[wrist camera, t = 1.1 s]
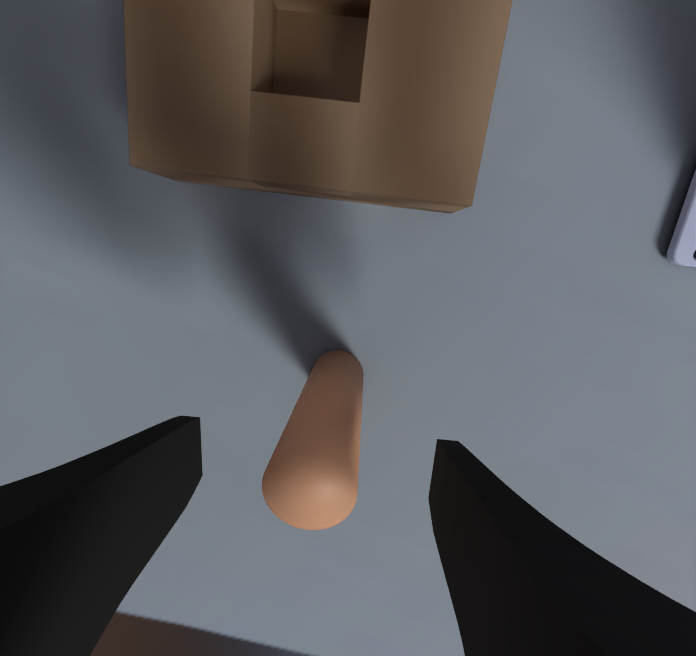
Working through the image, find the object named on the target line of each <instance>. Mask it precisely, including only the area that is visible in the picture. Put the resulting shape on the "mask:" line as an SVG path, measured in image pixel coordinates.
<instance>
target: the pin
mask: <svg viewBox="0 0 696 656" xmlns="http://www.w3.org/2000/svg"><path fill="white" fill-rule="evenodd" d="M362 391H363V369H362V366H361V364H360V362H359V361H358V360H357V359H356V357H354V356H353V355H352V354H350V353H348V352H345V351H341V350H333V351H329V352H326V353H324V354H323V355H321V356H320V357H319V358H318V359H317V361H316V362H315V364H314V366H313V368H312V371H311V373H310V375H309V377H308V379H307V381H306V384H305V386H304V388H303V390H302V392H301V394H300V397H299V399H298V401H297V403H296V405H295V407H294V410H293V412H292V414H291V416H290V418H289V420H288V423H287V425H286V427H285V429H284V431H283V433H282V436H281V438H280V440H279V442H278V444H277V446H276V448H275V451H274V453H273V455H272V457H271V459H270V461H269V464H268V466H267V468H266V470H265V472H264V475H263V479H262V491H263V496H264V499H265V501H266V503H267V505H268V507H269V508H270V509H271V511H272V512H273V513H274V514H275V515H276V516H277V517H278V518H280V519H281V520H282V521H284V522H286V523H287V524H290V525H292V526H294V527H297V528H301V529H307V530H320V529H325V528H329V527H332V526H334V525H336V524H338V523H340V522H341V521H343V520H344V519H345V518H346V517H347V516H348V515H349V514H350V513H351V511H352V510H353V508H354V506H355V503H356V499H357V490H358V470H359V451H360V431H361V411H362Z"/></svg>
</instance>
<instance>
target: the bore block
mask: <svg viewBox="0 0 696 656" xmlns="http://www.w3.org/2000/svg"><path fill="white" fill-rule="evenodd" d="M123 3H124V29H125V55H126V81H127V106H128V132H129V158H130V166H133V167H136V168H139V169H142V170H145V171H148V172H152V173H155V174H158V175H161V176H164V177H167V178H170V179H173V180H176V181H182V182H191V183H199V184H208V185H216V186H224V187H233V188H241V189H250V190H258V191H267V192H275V193H284V194H292V195H301V196H309V197H317V198H326V199H334V200H343V201H351V202H360V203H368V204H377V205H385V206H393V207H402V208H410V209H419V210H427V211H436V212H444V213H453V212H456V211H459V210H461V209H464V208H467V207H469V206H472V202H473V197H474V192H475V187H476V182H477V177H478V172H479V167H480V161H481V156H482V151H483V146H484V141H485V136H486V131H487V126H488V121H489V116H490V111H491V106H492V101H493V96H494V91H495V86H496V81H497V76H498V71H499V65H500V60H501V55H502V50H503V45H504V40H505V35H506V30H507V25H508V20H509V15H510V10H511V5H512V0H123Z"/></svg>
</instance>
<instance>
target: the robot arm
mask: <svg viewBox="0 0 696 656" xmlns="http://www.w3.org/2000/svg"><path fill="white" fill-rule="evenodd" d="M695 250H696V170H695V173H694V176H693V178H692V181H691V184H690V187H689V190H688V193H687V196H686V199H685V202H684V205H683V207H682V210H681V213H680V216H679V219H678V222H677V225H676V228H675V231H674V234H673V236H672V239H671V242H670V245H669V248H668V251H667V258H668V261H669V262H670V263H672V264H675V265H682V266H690V267H696V258H695V259H694V258H693V253H694V252H695ZM201 477H202V454H201V430H200V417H190V416H178V417H175V418H172V419H169V420H167V421H164V422H162V423H160V424H157V425H155V426H153V427H150V428H148V429H146V430H144V431H141V432H139V433H137V434H134V435H132V436H130V437H128V438H125V439H123V440H121V441H119V442H116V443H114V444H112V445H110V446H107V447H105V448H102V449H100V450H97V451H95V452H93V453H90V454H88V455H85V456H83V457H80V458H78V459H75V460H73V461H71V462H68V463H66V464H63V465H60V466H58V467H55V468H52V469H50V470H47V471H44V472H41V473H39V474H36V475H33V476H30V477H27V478H24V479H21V480H18V481H15V482H12V483H9V484H6V485H3V486H0V656H90V655H91V653H92V651H93V649H94V648H95V646H96V644H97V642H98V641H99V639H100V637H101V636H102V634H103V632H104V630H105V628H106V627H107V625H108V623H109V622H110V620H111V618H112V617H113V615H114V613H115V611H116V610H117V608H118V606H119V605H120V603H121V601H122V600H123V598H124V597H125V595H126V594H127V592H128V591H129V589H130V588H131V586H132V584H133V583H134V582H135V580H136V579H137V577H138V576H139V574H140V573H141V572H142V570H143V569H144V567H145V566H146V564H147V563H148V562H149V560H150V559H151V557H152V556H153V554H154V553H155V551H156V550H157V549H158V547H159V546H160V544H161V543H162V541H163V540H164V539H165V537H166V536H167V534H168V533H169V531H170V530H171V528H172V527H173V526H174V524H175V523H176V521H177V520H178V518H179V517H180V515H181V514H182V512H183V511H184V509H185V508H186V506H187V504H188V502H189V501H190V499H191V497H192V495H193V493H194V491H195V489H196V487H197V485H198V483H199V481H200V479H201ZM429 505H430V512H431V519H432V525H433V532H434V536H435V540H436V544H437V548H438V551H439V555H440V559H441V563H442V566H443V570H444V574H445V577H446V581H447V585H448V588H449V592H450V596H451V599H452V603H453V607H454V611H455V614H456V618H457V622H458V626H459V630H460V635H461V639H462V643H463V648H464V654H465V656H696V612H694V611H693V610H691V609H689V608H687V607H685V606H683V605H682V604H680V603H678V602H676V601H674V600H672V599H671V598H669V597H667V596H665V595H664V594H662V593H660V592H659V591H657V590H655V589H653V588H652V587H650V586H648V585H646V584H645V583H643V582H641V581H640V580H638V579H636V578H635V577H633V576H632V575H630V574H628V573H627V572H625V571H624V570H622V569H620V568H619V567H617V566H616V565H614V564H612V563H611V562H609V561H608V560H606V559H604V558H603V557H601V556H600V555H598V554H597V553H595V552H594V551H592V550H591V549H589V548H588V547H586V546H585V545H583V544H582V543H580V542H579V541H578V540H576V539H575V538H573V537H572V536H571V535H569V534H568V533H566V532H565V531H563V530H562V529H561V528H559V527H558V526H556V525H555V524H554V523H552V522H551V521H550V520H548V519H547V518H546V517H545V516H543V515H542V514H541V513H539V512H538V511H537V510H536V509H535V508H533V507H532V506H531V505H530V504H528V503H527V502H526V501H525V500H523V499H522V498H521V497H520V496H519V495H517V494H516V493H515V492H514V491H513V490H512V489H510V488H509V487H508V486H507V485H506V484H505V483H504V482H502V481H501V480H500V479H499V478H498V477H497V476H496V475H495V474H494V473H492V472H491V471H490V470H489V469H488V468H487V467H486V466H485V465H484V464H483V463H482V462H481V461H480V460H478V459H477V458H476V457H475V456H474V455H473V454H472V453H471V452H470V451H469V450H468V449H467V448H465V447H464V446H463V445H462V444H461V443H460V442H458V441H451V440H440V439H437V444H436V451H435V457H434V464H433V471H432V478H431V484H430V491H429Z"/></svg>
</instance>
